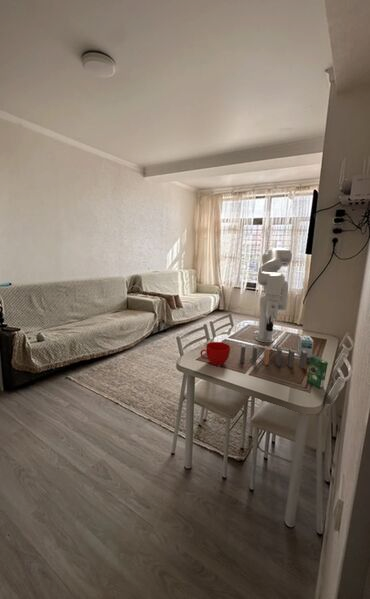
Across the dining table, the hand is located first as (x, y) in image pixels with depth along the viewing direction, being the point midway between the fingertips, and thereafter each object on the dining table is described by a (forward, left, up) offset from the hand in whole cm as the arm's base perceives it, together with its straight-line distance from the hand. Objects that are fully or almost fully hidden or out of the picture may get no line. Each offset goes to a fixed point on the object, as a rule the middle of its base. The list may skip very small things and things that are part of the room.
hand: (269, 330), depth 154 cm
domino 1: (-9, -9, -19) cm, 23 cm away
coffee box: (+29, +1, -19) cm, 35 cm away
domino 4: (+5, +5, -19) cm, 20 cm away
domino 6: (+14, +14, -19) cm, 27 cm away
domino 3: (0, 0, -19) cm, 19 cm away
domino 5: (+9, +9, -19) cm, 23 cm away
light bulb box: (+4, +32, -19) cm, 37 cm away
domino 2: (-5, -5, -19) cm, 20 cm away
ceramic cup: (-14, -26, -19) cm, 36 cm away
